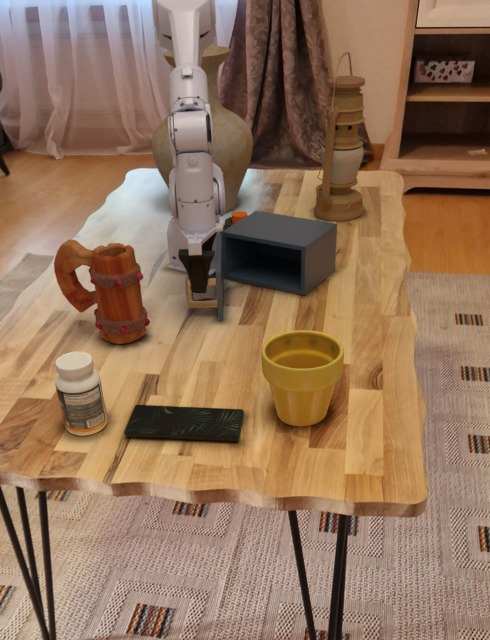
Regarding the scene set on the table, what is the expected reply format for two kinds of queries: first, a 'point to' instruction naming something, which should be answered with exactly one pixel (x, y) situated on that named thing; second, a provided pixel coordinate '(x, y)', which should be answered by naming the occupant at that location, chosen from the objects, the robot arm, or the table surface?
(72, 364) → the pill bottle
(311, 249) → the grey cabinet
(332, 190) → the lantern
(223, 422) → the smartphone
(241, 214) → the release button
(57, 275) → the mug
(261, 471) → the table surface
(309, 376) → the flower pot
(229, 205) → the vase
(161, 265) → the table surface
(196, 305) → the grey piece
